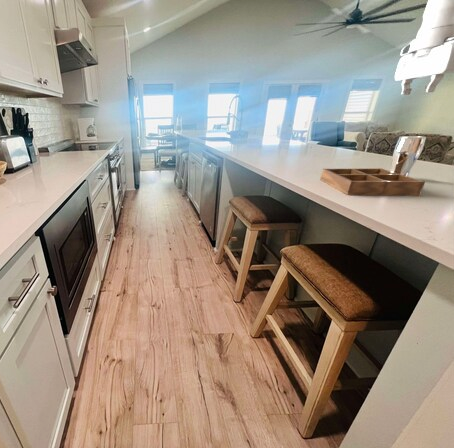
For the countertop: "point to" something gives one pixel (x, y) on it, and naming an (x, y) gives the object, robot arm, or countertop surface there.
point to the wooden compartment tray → (371, 182)
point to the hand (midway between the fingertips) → (416, 93)
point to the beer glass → (406, 153)
